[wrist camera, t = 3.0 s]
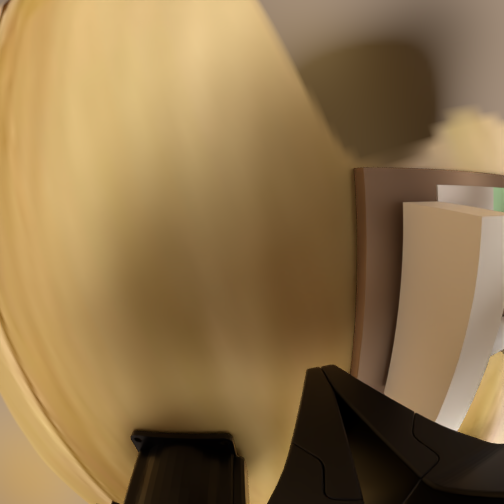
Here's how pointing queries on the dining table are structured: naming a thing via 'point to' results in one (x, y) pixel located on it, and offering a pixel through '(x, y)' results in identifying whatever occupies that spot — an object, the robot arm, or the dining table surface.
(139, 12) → the dining table surface
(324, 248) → the dining table surface
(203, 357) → the dining table surface
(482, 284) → the plunger
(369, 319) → the base
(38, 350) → the dining table surface
